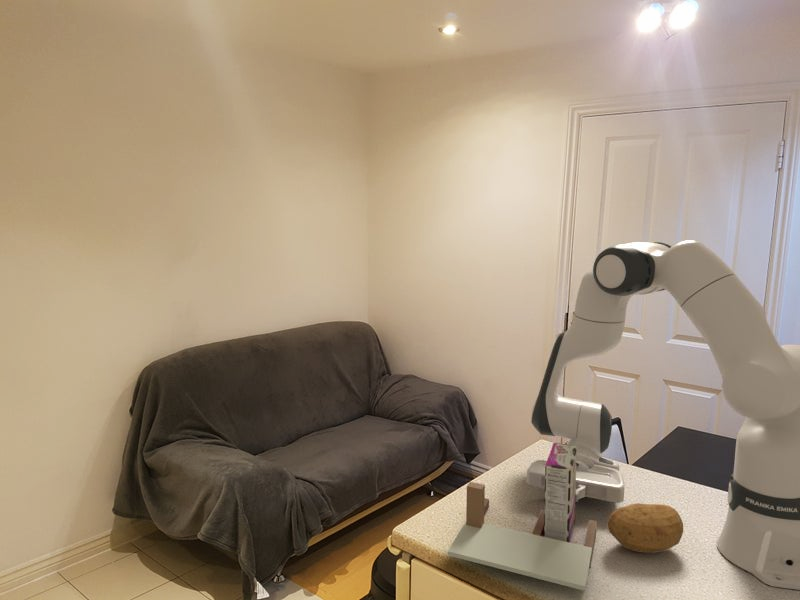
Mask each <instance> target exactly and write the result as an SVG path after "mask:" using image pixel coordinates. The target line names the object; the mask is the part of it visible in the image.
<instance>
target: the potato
mask: <svg viewBox="0 0 800 600" xmlns="http://www.w3.org/2000/svg"><path fill="white" fill-rule="evenodd" d="M606 525H607V529H608V531H609V534H610V535H611V536H612V537H614V540H615V539H616V541H617V542H618V543H619V544H621V545H622V546H623V547H624V548H626V549H629V550H631V551H633V552H638V553H662V552H664V551H667V550H669V549H671V548H674V547H675V546H677V545H678V544H679V543H680V541H681V539H682V536H683V533H684V522H683V521H682V517H681V516H680V513H679V512H678V511H677V510H676V508H674V507H672V506H670V505H666V504H653V503H652V504H648V503H637V502H636V503H633V504H628V505H626V506H621V507H619V508H617V509H614V510H613V511H612V512H611V513H610V514H609V518H608V520H607V523H606Z"/></svg>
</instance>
